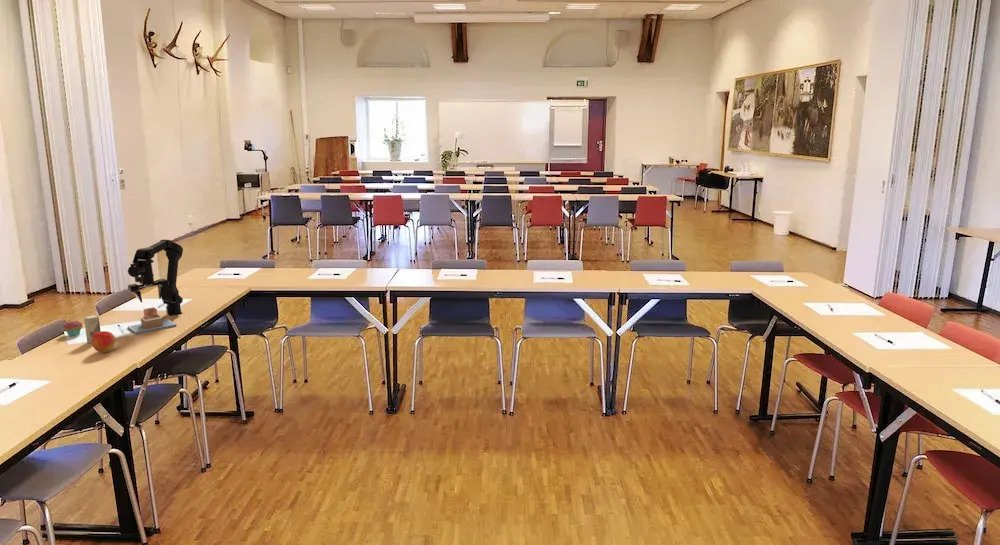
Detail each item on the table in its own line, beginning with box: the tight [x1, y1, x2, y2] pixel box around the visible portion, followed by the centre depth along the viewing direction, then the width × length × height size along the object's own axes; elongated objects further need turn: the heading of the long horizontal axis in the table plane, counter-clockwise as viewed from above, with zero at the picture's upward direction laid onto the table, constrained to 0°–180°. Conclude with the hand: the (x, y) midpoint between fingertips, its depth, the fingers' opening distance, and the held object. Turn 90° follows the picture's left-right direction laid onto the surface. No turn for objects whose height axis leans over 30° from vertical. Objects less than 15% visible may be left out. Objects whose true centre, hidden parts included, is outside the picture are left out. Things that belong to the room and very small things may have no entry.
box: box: [83, 315, 102, 344], centre depth 325 cm, size 5×4×13 cm
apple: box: [92, 330, 116, 354], centre depth 311 cm, size 10×10×10 cm
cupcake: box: [62, 313, 84, 337], centre depth 336 cm, size 9×8×12 cm
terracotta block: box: [143, 306, 158, 319], centre depth 348 cm, size 5×5×5 cm
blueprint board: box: [127, 313, 178, 335], centre depth 349 cm, size 20×14×6 cm
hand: (150, 300), depth 354 cm, fingers open, 9 cm apart
